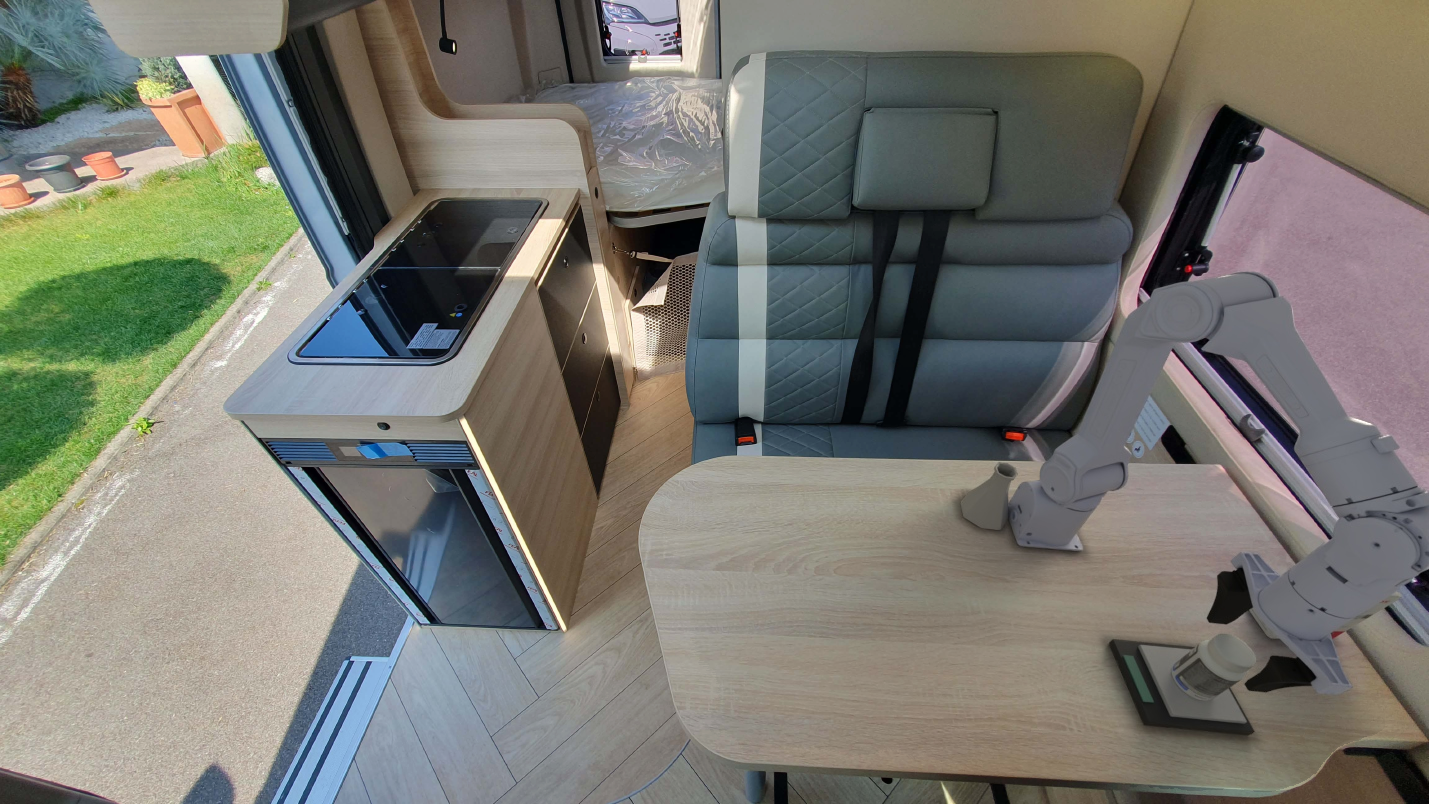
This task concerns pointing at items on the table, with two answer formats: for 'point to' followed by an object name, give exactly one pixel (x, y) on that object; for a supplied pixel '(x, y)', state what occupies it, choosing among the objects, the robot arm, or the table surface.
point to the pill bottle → (1213, 666)
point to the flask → (990, 499)
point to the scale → (1173, 691)
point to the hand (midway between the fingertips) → (1235, 653)
